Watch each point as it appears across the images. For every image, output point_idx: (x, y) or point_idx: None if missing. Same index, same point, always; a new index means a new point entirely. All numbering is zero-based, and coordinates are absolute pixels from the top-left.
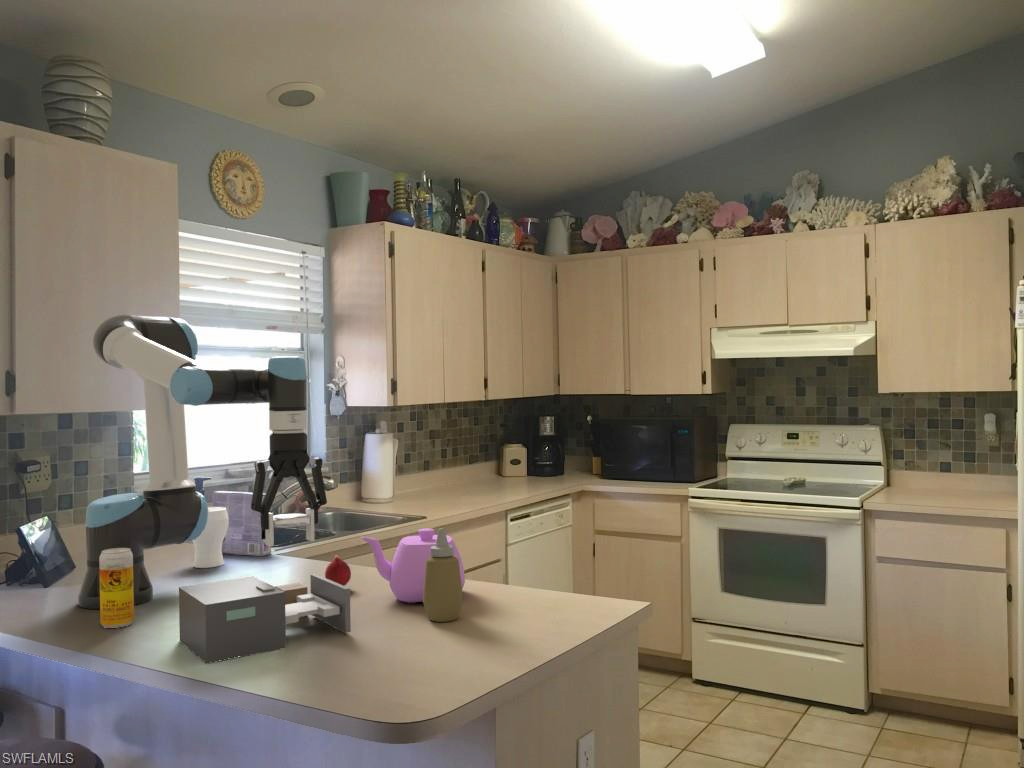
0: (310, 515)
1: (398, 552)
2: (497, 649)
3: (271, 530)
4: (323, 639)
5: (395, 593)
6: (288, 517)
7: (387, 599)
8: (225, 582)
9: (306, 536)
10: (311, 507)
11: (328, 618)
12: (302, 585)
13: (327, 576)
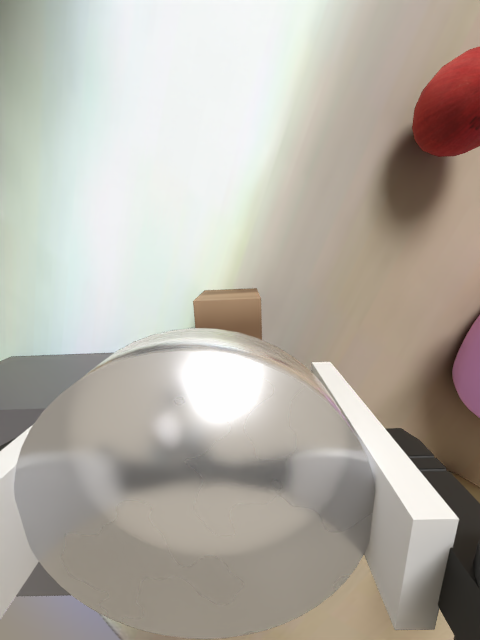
0: (366, 558)
1: None
2: (391, 626)
3: None
4: None
5: (457, 372)
6: (170, 552)
7: (455, 309)
8: (7, 434)
9: (316, 373)
10: (456, 602)
11: None
12: (258, 338)
13: (419, 120)
